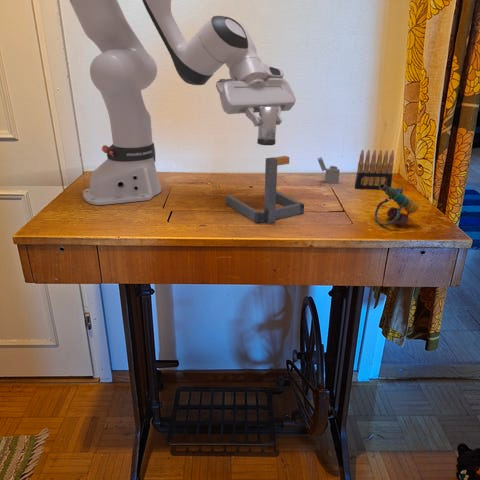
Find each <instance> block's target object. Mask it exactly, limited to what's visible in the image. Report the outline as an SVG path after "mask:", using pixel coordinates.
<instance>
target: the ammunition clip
mask: <svg viewBox="0 0 480 480" xmlns="http://www.w3.org/2000/svg"><path fill="white" fill-rule="evenodd" d="M370 151H371V150H370V149H368V150H367V152H366V155H365V152H364V149H362V150H361V151H360V154H359V159H358V164H357V170H356V171H357V172H356V177H355V182H354V189H355V190H373V191H374V190H375V191H376V190H381V189H380V188H379V185H380V184H385V185H386V186H387V187H392V184H393V183H392V181H393V170H394V161H395V160H394V159H395V151H394V150H392V151H391V152H390V155H389V152H388V150H387V149H386V150H385V152H384V155H383V152H382V149H380V150H379V152H378V156H377V151H376V149H374V150H373V152H372V155H371V152H370ZM364 158H365V159H364ZM381 191H382V190H381Z"/></svg>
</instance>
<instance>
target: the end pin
mask: <svg viewBox="0 0 480 480" xmlns="http://www.w3.org/2000/svg"><path fill="white" fill-rule="evenodd" d="M258 117H261V120H262V124H261V126H257V128H258V129H257V131H258V132H257V139H256V140H257V142H256V144H258V145H261V146H274V145H276V133H277V125H276V120H277V107H276V106H269V105H268V106H259V112H258Z"/></svg>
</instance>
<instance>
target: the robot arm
mask: <svg viewBox="0 0 480 480" xmlns="http://www.w3.org/2000/svg"><path fill="white" fill-rule="evenodd" d="M141 1H142V2H143V5H144V8H145V10H146V12H147V14H148V15H149V18H150V19H151V22H152V23H153V25H154V27H155V29H156V31H157V32H158V34H159V36H160V38H161V40H162V41H163V44H164V46H165V48H166V49H167V51H168V54H169V55H170V58H171V60H172V63H173V66H174V67H175V70H176V72H177V74H178V75H179V77H180V79H181V80H182V81H183V82H184V83H186V84H188V85H193V86H203V85H206V83H208V81H209V80H210V79H211V78H212V77H213V76H214V73H216V72H218V70H219V69H220V68H222V67H223V65H224V64H225V66H226V67H227V68H228V73H229V76H230V78H220V79H219V80H218V81H216V83H215V88H216V90H217V92H218V94H219V100H220V104H221V108H222V110H223V112H224V113H226V114H227V115H238V114H239V115H240V114H245V116H246V118H247V119H248V120H250V121H251V122H252V124H253V126H254V127H258V126H261V124H262V120H261V117H259V115H257V114H256V113H259V106H268V105H269V106H276V107H277V120H276V126H280V125H281V124H282V122H283V121H282V117H281V112H286V111H287V112H289V111H290V110H291V109H292V108H293V107H294V106H295V104H296V100H297V99H296V96H295V94H294V91H293V89H292V88H291V85H290V84H289V82H288V81H287V80H286V79H284V76H285V74H284V70H282V69H280V68H277V67H273V66H271V65H268V64H266V63H263V62H262V60H261V58H260V57H259V56H258V55H257V53H258V52H257V48H256V46H255V44H254V42H253V39H252V37H251V36H250V34H249V32H248V31H247V29H246V27H245V26H244V25H243V24H242V23H241V22H240V21H238V20H236V19H233V18H231V17H229V16H225V15H213V16H212V17H211V18H210V19H209V20H208V21H207V22H206V23H205V24H203V26H201V27H200V29H199V30H198V31H197V32H196V34H194V35H193V37H191V39H190V40H189V41H188V42H187V41H186V39H185V38H184V35H183V33H182V32H181V30H180V28H179V25H178V24H177V22H176V19H175V17H174V16H173V14H172V7H171V6H172V0H141ZM69 3H70V5H71V7H72V9H73V11H74V14H75V16H76V17H77V19H78V22H79V24H80V26H81V28H82V30H83V32H84V34H85V35H86V36H87V38H88V39H89V40H91V41H92V43H94V45H95V46H96V47H97V48H98V49H99V50H100V53H99V54H98V55H96V56H95V57H94V58H93V59H92V61H91V63H90V67H89V75H90V79H91V82H92V83H93V85H94V86H95V88H96V89H97V90H98V91H99V92H100V94H101V97H102V99H103V102H104V104H105V107H106V110H107V114H108V118H109V123H110V131H111V138H112V144H111V145H109V146H108V145H106V144H105V145H102V147H101V151H102V152H103V153H105V154H106V158H107V159H105V161H103V162H102V163H100V165H99V166H98V167H97V168H96V169H95V170H93V171H92V172H91V174H90V178H89V188H85V189H84V190H83V191H82V198H83V200H85V201H86V203H88V204H91V205H95V206H104V205H114V204H123V203H133V202H144V201H150V200H152V198H154V196H157V195H159V194H160V193H161V192H162V190H163V189H162V187H161V183H160V180H159V178H158V173H157V168H156V148H155V143H154V142H153V131H152V130H153V129H152V120H151V114H150V112H149V111H148V110H147V107H146V105H145V101H144V97H143V95H142V91H143V90H145V89H147V88H149V86H151V85H152V84H153V82H154V81H155V80H156V78H157V76H158V75H157V74H158V68H157V67H158V66H157V64H156V60H155V59H154V57H152V55H150V53H148V51H147V50H146V49H145V47H144V46H143V44H142V43H141V40H140V39H139V38H138V36H137V35H136V33H135V31H134V30H133V28H132V27H131V25H130V23H129V22H128V20H127V18H126V17H125V14H124V13H123V10H122V7H121V6H120V3H119V1H118V0H69Z"/></svg>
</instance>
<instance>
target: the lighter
mask: <svg viewBox="0 0 480 480" xmlns="http://www.w3.org/2000/svg"><path fill="white" fill-rule="evenodd" d="M317 161H318V163H319V167H320V169H321V171H322V172H323V171H325V177H324V183H325V184H339V181H340V180H339V179H340V171H341V170H340V169H339V168H338V167H337V166H335V165H329V167H328V168H327V167H326V164H325V163H324V160H323V157H322V156H320V157H318V158H317Z"/></svg>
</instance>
